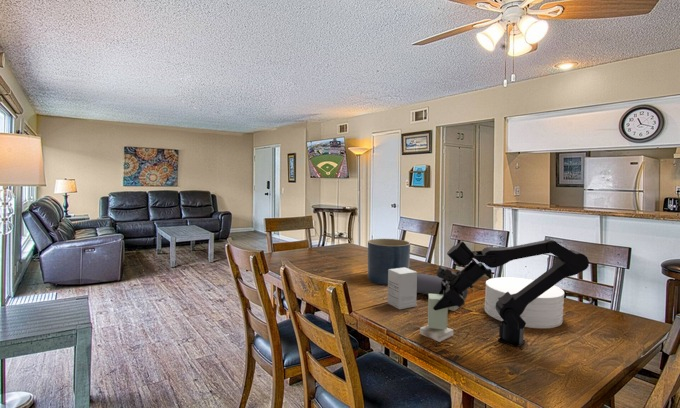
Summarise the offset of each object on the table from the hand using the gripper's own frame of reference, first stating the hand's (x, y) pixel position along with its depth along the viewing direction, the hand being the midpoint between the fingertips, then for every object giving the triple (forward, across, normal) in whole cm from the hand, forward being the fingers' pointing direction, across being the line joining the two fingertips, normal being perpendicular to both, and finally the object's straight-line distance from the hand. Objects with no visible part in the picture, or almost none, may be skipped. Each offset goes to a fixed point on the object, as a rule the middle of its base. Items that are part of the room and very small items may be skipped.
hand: (433, 306), depth 127 cm
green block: (+4, 0, +6) cm, 7 cm away
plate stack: (-18, -28, +33) cm, 47 cm away
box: (+1, -28, +14) cm, 31 cm away
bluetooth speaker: (+4, -40, +11) cm, 42 cm away
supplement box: (+15, -28, -1) cm, 32 cm away
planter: (+21, -66, -6) cm, 69 cm away
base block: (+6, 0, +8) cm, 10 cm away
